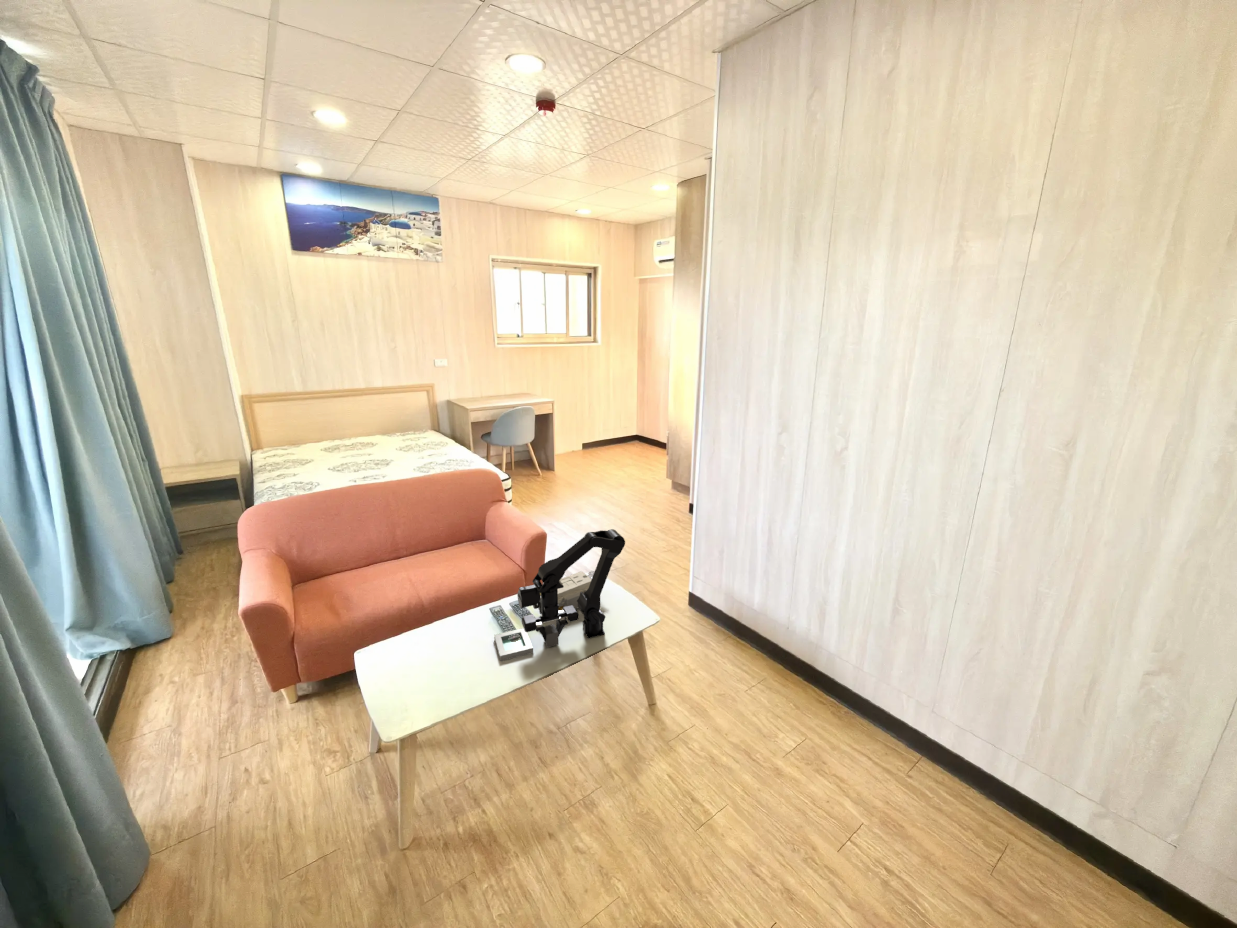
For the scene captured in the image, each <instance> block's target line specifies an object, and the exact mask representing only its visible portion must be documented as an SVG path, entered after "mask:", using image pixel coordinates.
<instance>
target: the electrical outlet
mask: <svg viewBox="0 0 1237 928" xmlns="http://www.w3.org/2000/svg"><path fill="white" fill-rule="evenodd" d="M594 572H595V570H591V571H589V572H588V573H587V574H586V573H585V572H584V571H582V570H581V571H578V572H575V573H573V574H570V575H567V576H565V577H564V576H563V577H562V578H561V579H560V580H559V581H561V583H562V584H563V586H564V587H563V588H559V589H558V605H559V608H558V611H561V610H563V607H567V606H571V605H573V606H574V607H575V609H576V610H577V609H579V608H578V602H577V600H578V599H579V596H580V593H581V592H585V591H587V590H588V588H589V585H590V583H591V580H592V577H593V575H594ZM540 597H541V593H540Z"/></svg>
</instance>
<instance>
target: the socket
mask: <svg viewBox="0 0 1237 928" xmlns="http://www.w3.org/2000/svg"><path fill="white" fill-rule="evenodd" d="M513 634H519V635H520V636H521V638H520V640H518V641H516V642H511V641H510V640H508V638H509V636H511V635H513ZM493 636H494V637H493V639H494V642H495V647H496V650H497V654H498V657H499V661H500V662H503V661H507V660H511V659H513V658H518V657H522V656H525V655H526V656H527V655H529V654H533V653H534V648H533V644H532V642H531V639H530V636H529V634H528V632H525V630H524V628H523V627H522V628H517V629H514V630H509V631H504V632H501V633H497V634H494V635H493Z"/></svg>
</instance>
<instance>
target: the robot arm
mask: <svg viewBox="0 0 1237 928" xmlns="http://www.w3.org/2000/svg"><path fill="white" fill-rule="evenodd" d="M625 546H626V540H625V538H624V536H622V534H620V533H619V532H618V531H617V530H616V529H613V528H612V529H608V530H597V531H588V532H586V533H585V534H584V536H583V537H581V539H579V540H578V541H577V542H575V543H574V544H573V545H572V546H571V547H569V548H568V549H567V550H565V552H564V553H562V554H561V555H560V556H558V557H556V558H553V559H550V560H547V561H545V563H543V564H541V565H540V566H539V568H538V571H537V573H536V574H535V576H534V577H533V579H532V583H533V584H532V585H531V584H530V585H526V586H521V587H519V588H518V591H517V594H516V595H517V601H518V607H519V608H520V609H523V608H527V607H533V609H535V610H537V609H538V610H539V614H540V615H541V616H538V617H535V616H534V614H528V615H524V616H522V618H521V625H522V628H524V630H525V632H527V633H530V632H533V631H536V632H537V633H538V632H539V633H540V634H541V637H542V639H543V641H544V642H545V641H546V635H545V628H544V626H545V625H544V623H549V622H553V621H556V623H555V627H556V629H557V631H558V638H559V637H560V634H561V633H562V631H563V629H564V628H565V626H566V625H569V622H570V623H571V622H575V621H578V620H579V613H578V611H577V609H578V610H579V611H580V612H581V614H582V615H583V620H582V632H583V633H584V635H585V636H586V637H587V639H591V638H596V637H599V636H603V635H605V634H606V632H605V630H604V622H605V620H606V615H605V613H604V612H603V611H602V610H601V594H602V592H603V589H604V586H605V584H606V581H607V579H608V575H609V574H610V570H611V568H612V566H613V563H614V560H615V558H617V557H618V556H620V554H621V553H622V551H623V549H624V547H625ZM594 548H600V549H601V554H600V557H599V559H598V562H597V564H596V567H595V569H594V571H595V572H594V575H593V577H591V578H592V580H591V583H590V585H589V588H588V590H587V591H585V592H581V593H580V596H579V599H578V600H577V602H578V608H577V609H575V607H574V606H573V605H571V606H567V607H563V610H561V611H558V608H559V605H558V589H559V588H563V587H564V586H563V584H562V583H561V581H559V580H560V579H562V578H564V575H565V573H566V571H567V570H568V569H570V567H572V566H573V565H574V564H575V563H576V562H578V561H579V560H580V559H582V557H583V556H585V555H586V554H587V553H588V552H590V551H591V550H592V549H594ZM540 593H541V596H540Z"/></svg>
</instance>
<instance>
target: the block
mask: <svg viewBox="0 0 1237 928" xmlns="http://www.w3.org/2000/svg"><path fill="white" fill-rule="evenodd" d="M543 626H544V628H545V635H546V641H544V643H545V644H546V645H545V646H546V648H550V647H551V648H552V647H554V646H559V643H560V642H559V637H558V631H557V629H556V624H555V623H554V624H548V625H543Z"/></svg>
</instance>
